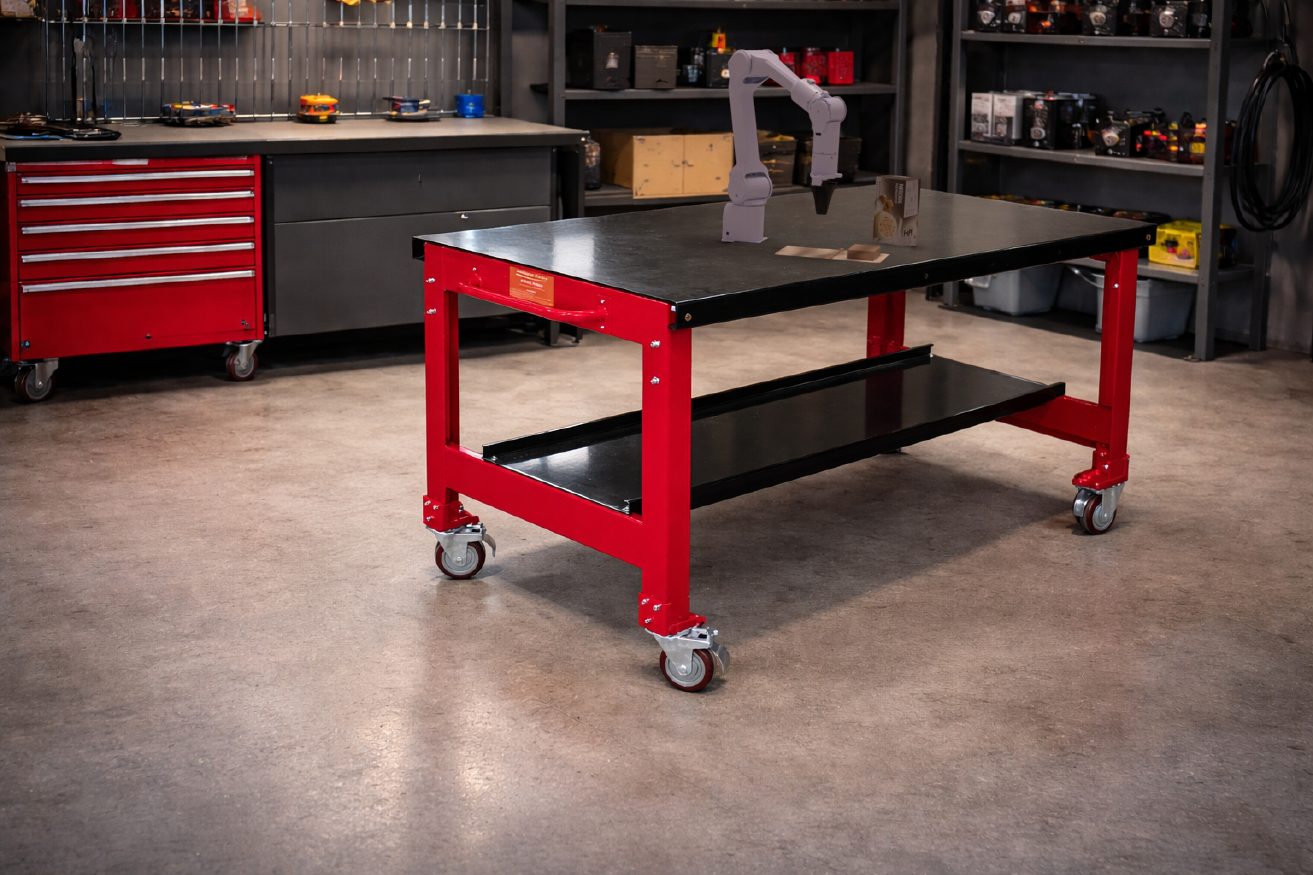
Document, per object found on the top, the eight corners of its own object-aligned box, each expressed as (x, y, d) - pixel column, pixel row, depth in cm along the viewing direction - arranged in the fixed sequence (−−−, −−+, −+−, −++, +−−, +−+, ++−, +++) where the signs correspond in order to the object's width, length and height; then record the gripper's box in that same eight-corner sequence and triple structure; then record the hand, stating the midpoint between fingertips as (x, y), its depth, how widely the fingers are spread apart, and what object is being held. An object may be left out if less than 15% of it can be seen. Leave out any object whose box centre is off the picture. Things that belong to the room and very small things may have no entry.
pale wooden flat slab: (773, 256, 307) (774, 252, 307) (787, 248, 318) (787, 244, 318) (879, 265, 300) (879, 261, 300) (889, 256, 311) (889, 252, 310)
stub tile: (846, 258, 304) (847, 249, 303) (854, 252, 311) (854, 244, 310) (873, 260, 302) (874, 251, 301) (880, 255, 309) (881, 246, 309)
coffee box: (917, 246, 326) (923, 178, 321) (901, 248, 321) (907, 180, 316) (886, 240, 332) (891, 174, 327) (870, 243, 328) (875, 176, 323)
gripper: (835, 157, 295) (831, 220, 299) (849, 151, 308) (845, 211, 312) (804, 155, 297) (800, 217, 302) (819, 149, 310) (815, 209, 315)
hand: (821, 214), depth 307 cm, fingers closed
